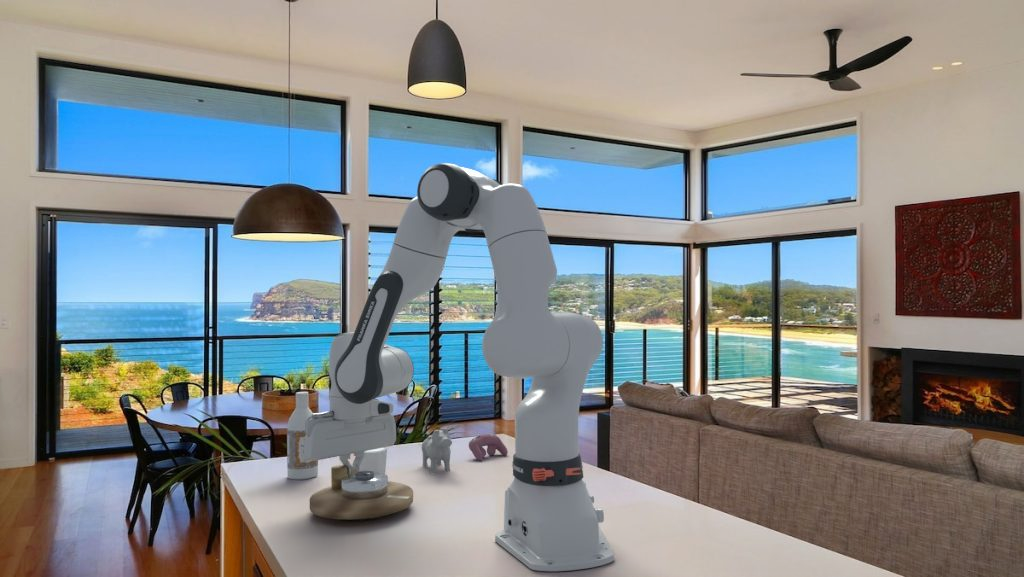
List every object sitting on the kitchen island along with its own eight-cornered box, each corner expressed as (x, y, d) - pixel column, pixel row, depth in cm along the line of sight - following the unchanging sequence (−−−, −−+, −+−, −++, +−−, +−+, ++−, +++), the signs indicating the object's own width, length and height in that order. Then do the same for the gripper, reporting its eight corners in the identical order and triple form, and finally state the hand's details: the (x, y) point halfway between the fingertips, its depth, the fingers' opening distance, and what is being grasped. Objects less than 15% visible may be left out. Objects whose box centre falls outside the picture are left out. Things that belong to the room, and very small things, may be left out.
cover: (395, 488, 136) (395, 468, 136) (374, 501, 127) (373, 480, 127) (356, 485, 139) (356, 466, 139) (332, 498, 130) (332, 477, 130)
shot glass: (380, 483, 152) (380, 452, 152) (352, 482, 153) (352, 451, 153) (391, 475, 159) (391, 446, 159) (365, 474, 160) (364, 445, 160)
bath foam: (292, 482, 154) (292, 395, 154) (283, 475, 159) (282, 392, 160) (322, 477, 158) (321, 392, 158) (312, 471, 164) (311, 389, 164)
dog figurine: (436, 477, 156) (436, 431, 157) (419, 465, 168) (418, 423, 168) (457, 474, 159) (457, 429, 159) (438, 462, 170) (438, 421, 170)
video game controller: (500, 459, 180) (493, 434, 182) (510, 454, 177) (502, 428, 179) (471, 465, 173) (463, 439, 176) (480, 460, 170) (473, 434, 173)
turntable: (428, 491, 139) (428, 464, 139) (386, 523, 120) (386, 491, 120) (342, 486, 144) (341, 460, 144) (288, 515, 125) (288, 485, 125)
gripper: (312, 416, 131) (313, 487, 131) (399, 404, 145) (400, 467, 145) (297, 412, 135) (298, 481, 135) (383, 401, 150) (384, 462, 149)
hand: (352, 474), depth 140 cm, fingers closed
